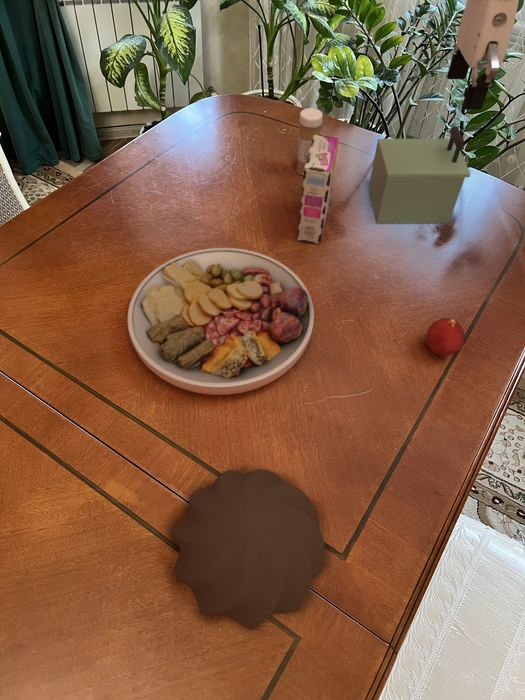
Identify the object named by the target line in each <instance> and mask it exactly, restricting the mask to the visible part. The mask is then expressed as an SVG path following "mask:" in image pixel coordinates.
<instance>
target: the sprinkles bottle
mask: <svg viewBox="0 0 525 700" xmlns="http://www.w3.org/2000/svg"><path fill="white" fill-rule="evenodd" d="M323 116H324V115H323V112H322V111H321V110H320V109H318V108H313V107H307V108H303V109H302V110H301V111H300V113H299V134H298V144H297V145H298V146H297V156H296V157H297V161H296V173H297V174H298V175H300V176H302V177H304V168H305V163H306V160H307V156H308V153H309V150H310V146H311V143H312V139H313V136H314V135H321V130H322V129H321V127H322V124H323Z"/></svg>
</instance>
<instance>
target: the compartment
mask: <svg viewBox="0 0 525 700" xmlns="http://www.w3.org/2000/svg"><path fill="white" fill-rule="evenodd" d="M371 167H372V168H371V172H370V178H369V182H368V186H367V187H368V194H369V198H370V202H371V206H372V211H373V215H374V218H375V223H376V225H411V224H412V225H418V224H419V225H425V224H428V225H429V224H430V225H431V224H432V225H433V224H437V223H438V224H439V223H441V225H444V224H445V225H446V224H450V222H451V219H452V215H453V214H454V210H455V207H456V205H457V201H458V199H459V196H460V193H461V190H462V187H463V184H464V181H465V179H466V177H411V178H387V175H386V171H385V168H384V164H383V160H382V157H381V153H380V150H379V146H378V142H377V143H376V148H375V152H374V156H373V161H372V166H371Z"/></svg>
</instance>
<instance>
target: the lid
mask: <svg viewBox="0 0 525 700" xmlns="http://www.w3.org/2000/svg"><path fill="white" fill-rule="evenodd" d="M449 134H450V137H449V138H378V139H377V143H378V146H379V150H380V153H381V157H382V160H383V164H384V168H385V171H386V175H387V178H411V177H465V178H470V176H471V172H470V169H469V167H468V164H467V162H466V160H465V158H464V155H463V153H462V150H461V149H463V148H464V147H465V146H466V142H465V140H464V137H463V136H462V133H461V131H460V128H459V127H458V126H456V125H455V126H454V125H453V126H452V127H450V129H449Z"/></svg>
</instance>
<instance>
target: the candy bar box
mask: <svg viewBox="0 0 525 700" xmlns="http://www.w3.org/2000/svg"><path fill="white" fill-rule="evenodd" d="M339 140H340V138H339V137H336V136H335V137H334V136H327V135H321V134H320V135H314V136H313V139H312V143H311V146H310V150H309V153H308V156H307V160H306V163H305V168H304V176H303V178H302V190H301V196H300V197H301V198H300V210H299V218H298V227H297V236H296V238H297V239H296V241H297V242H303V243H309V244H315V245H321V244H322V240H323V235H324V231H325V226H326V222H327V218H328V212H329V207H330V199H331V193H332V186H333V180H334V173H335V166H336V161H337V154H338V146H339Z"/></svg>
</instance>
